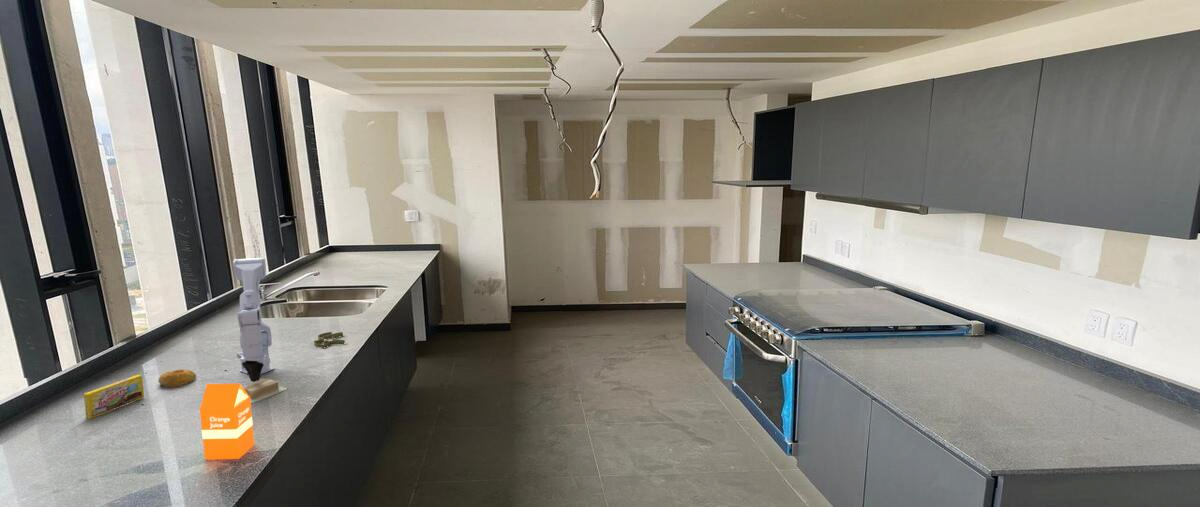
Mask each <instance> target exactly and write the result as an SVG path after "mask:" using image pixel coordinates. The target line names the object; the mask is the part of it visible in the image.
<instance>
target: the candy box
mask: <svg viewBox="0 0 1200 507" xmlns="http://www.w3.org/2000/svg"><path fill="white" fill-rule="evenodd" d="M143 385H144V384H143V375H142V374H135V375H133V376H131V377H127V378H124V379H121V380H119V381H115V382H113V383H110V384H107V385H103V386H102V387H100V388H96V389H94V390H91V391H88V392H84V393H83V400H84V412H85V419H86V418H92V419H93V417H94V418H96V416H97V417H99V416H102V415H104V414H106V413H105V412H107V411H109V412H111V411H110V410H112V409H114V408H117V407H119V408H121V407H120V406H122V405H124V406H126V405H125V404H127V403H129V404H131V403H130V402H132V401H134V402H136V401H135V400H137V401H138V399H139V400H141V399H140V398H142V399H144V398H145V395H144V392H145V391H144V386H143ZM143 397H144V398H143ZM132 403H133V402H132ZM127 405H128V404H127ZM122 407H123V406H122ZM117 409H118V408H117ZM114 410H115V409H114ZM112 411H113V410H112ZM103 413H104V414H103ZM107 413H108V412H107ZM101 414H102V415H101ZM98 415H99V416H98Z"/></svg>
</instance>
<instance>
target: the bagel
mask: <svg viewBox="0 0 1200 507" xmlns="http://www.w3.org/2000/svg"><path fill="white" fill-rule="evenodd" d="M196 377H197V374H196V373H195V372H194V371H192V370H190V369H189V370H188V369H182V368H181V369H175V370H173V371H166V372H164V373H162V374H161V375H160V376H159V377H158V383H159V384H160V385H161V386H164V388H165V387H166V388H174V386H176V387H180V385H181V386H184V385H187V384H189V383H191V382H193V381H194V380H195V378H196Z"/></svg>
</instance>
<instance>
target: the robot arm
mask: <svg viewBox="0 0 1200 507" xmlns="http://www.w3.org/2000/svg"><path fill="white" fill-rule="evenodd" d="M266 265H267V264H266V259H265V258H264V257H257V258H255V257H253V258H235V259H234V260H233V261H232V267H233V268H232V269H233V275H234V276H235V278H236V280H237V281H241V282H242V287H243V288H242V289H243V291H242V293H241V294H240V295H239V311H238V312H237V324H238V326H239V333H240V334H239V335H240V336H239V339H240V340H239V341H240V342H239V343H240V349H242V351H239V352H236V357H237V359H239V361H240V364H241V369H239V372H240V373H243V374H247V375H248V377H249V379H250V381H251V383H253V382H256V381H259V380H261V375H262V374H264V373H267V372H271V371H274V370H275V369H276V367H274V366H270V364H271V357H270V354H269V347H271V346H272V345H273V344H272V343H273V341H272V330H271V326H270V325H268V324H266V323H264V322H263V320H262V318H263V317H262V310H261V297H260V282H261V280H264V279H265V278H266V276H267V267H266Z"/></svg>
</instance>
